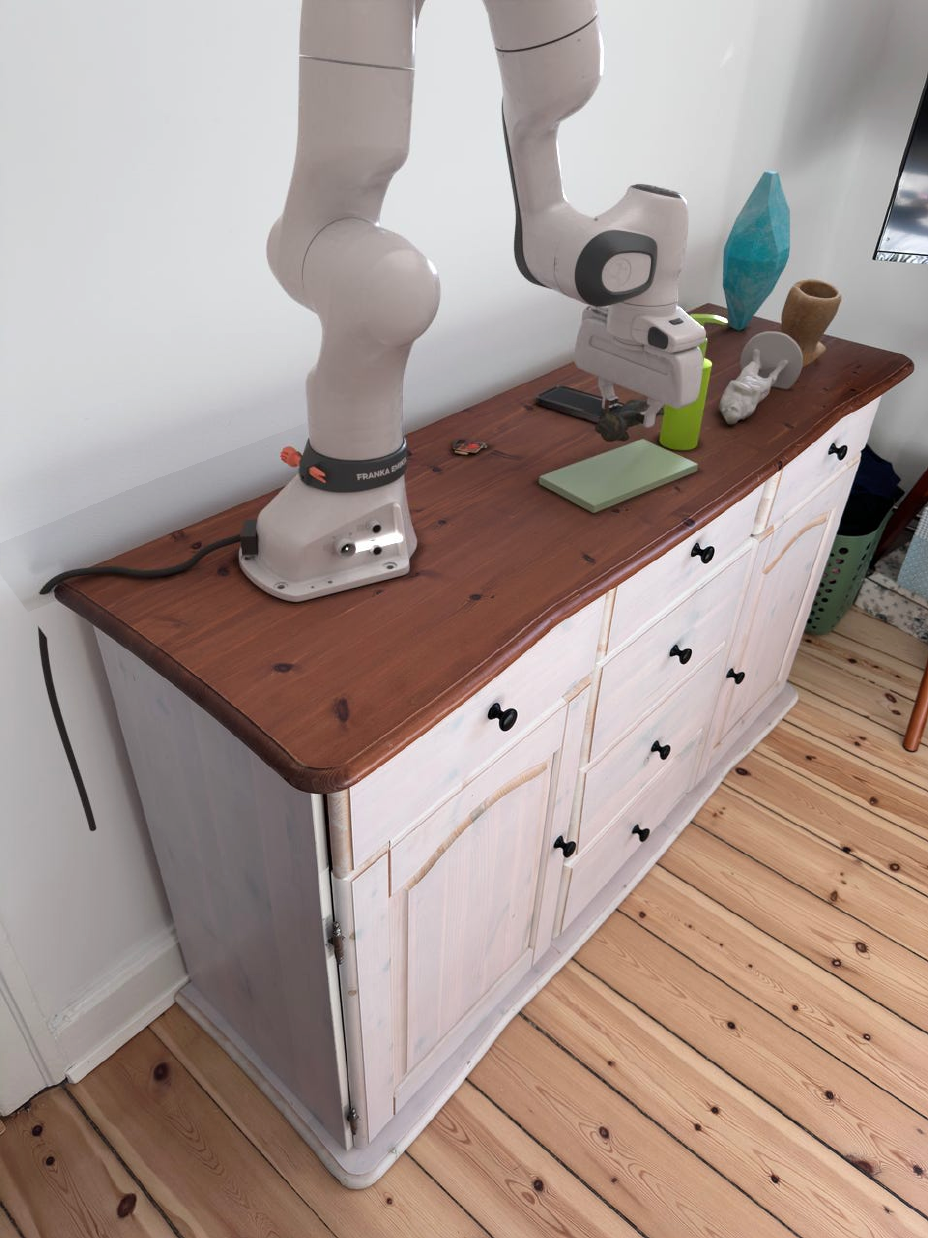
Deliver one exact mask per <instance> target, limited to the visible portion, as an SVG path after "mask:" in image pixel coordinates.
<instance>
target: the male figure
mask: <svg viewBox="0 0 928 1238" xmlns="http://www.w3.org/2000/svg"><path fill="white" fill-rule="evenodd" d="M802 364H803V355H802V351H801V349H800V347H799V346H798V344H797V343H796V342H795V341H794V340H793V339H792V338H791V337H789V336H788V335H786V334H784V333H781V331H772V330H768V331H762V332H760V333H757V334H755V335H754V336H753V337H751V338H750V339H749V340H748V341H747V342H746V344H745V346H744V348H743V349H742V352H741V355H740V359H739V365H740V371H741V372H740V374H739V375H738V376H737V377H736V378H735V380H730V381H729V383H728V384H727V386H726V387H725V389H724V391H723V393H722V396H721V398H720V402H719V407H718V408H719V411H720V413H721V415H722V416H723V417H724V421H725V423H726V424H727V425H735V424H737V423H738V421H740V420H745V419H746V418H749V417H750V416H751V415H753V413H755V410H756V407H757V406H758V403H760V402H762V401H763V400H765V398H766V397H767V396H768V395H769V394H770V392H771V387H774V388H778V389H779V388H780V389H784V390H789V389H790V388H791V387H793V385H794V384H795V383H796V382H797V380H798V379H799V377H800V375H801V372H802V369H803V367H802Z"/></svg>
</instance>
